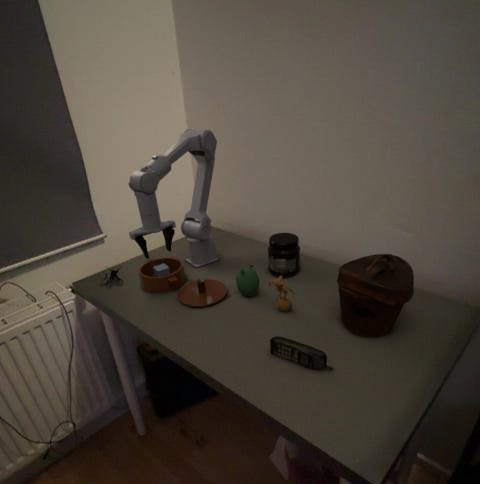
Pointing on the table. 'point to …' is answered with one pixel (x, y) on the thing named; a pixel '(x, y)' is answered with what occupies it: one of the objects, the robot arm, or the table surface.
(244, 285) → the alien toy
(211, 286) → the lid
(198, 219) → the robot arm
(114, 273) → the creature
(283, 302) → the figurine
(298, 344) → the mobile phone
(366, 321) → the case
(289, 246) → the supplement container
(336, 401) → the table surface
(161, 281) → the pot
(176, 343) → the table surface
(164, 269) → the block
